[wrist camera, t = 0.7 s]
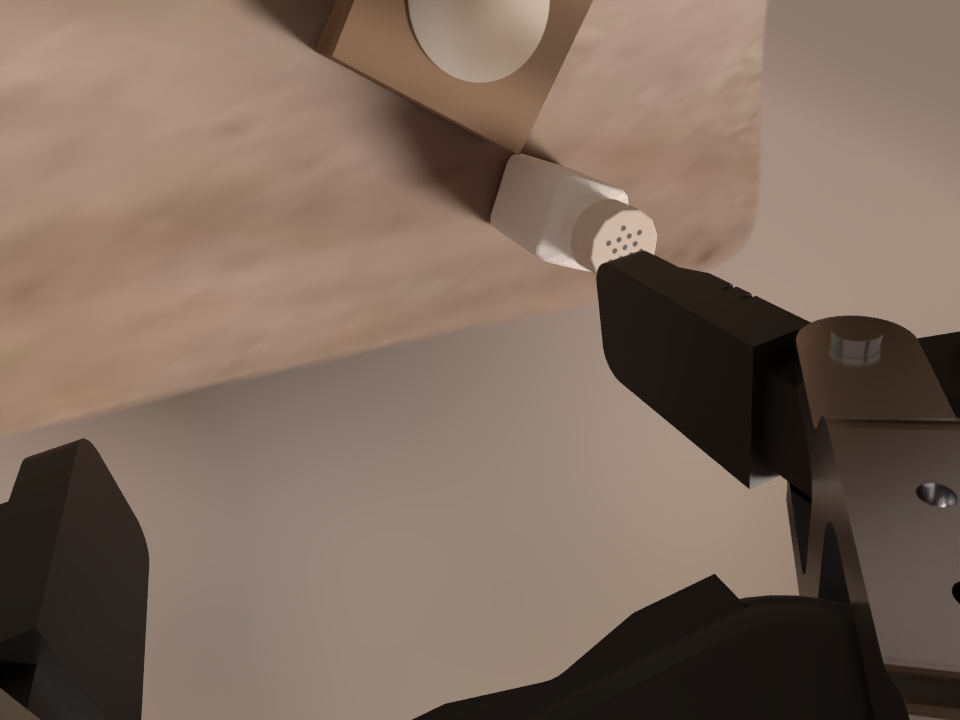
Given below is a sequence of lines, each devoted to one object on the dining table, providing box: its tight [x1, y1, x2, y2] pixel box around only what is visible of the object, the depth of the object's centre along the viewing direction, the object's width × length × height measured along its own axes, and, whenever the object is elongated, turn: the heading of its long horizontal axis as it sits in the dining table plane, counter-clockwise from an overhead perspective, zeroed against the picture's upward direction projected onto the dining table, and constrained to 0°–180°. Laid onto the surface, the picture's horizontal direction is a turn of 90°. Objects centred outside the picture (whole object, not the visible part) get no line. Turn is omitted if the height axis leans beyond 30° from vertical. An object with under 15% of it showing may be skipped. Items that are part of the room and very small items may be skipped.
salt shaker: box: [491, 153, 657, 275], centre depth 32 cm, size 4×4×10 cm
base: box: [315, 0, 593, 155], centre depth 29 cm, size 9×9×4 cm
